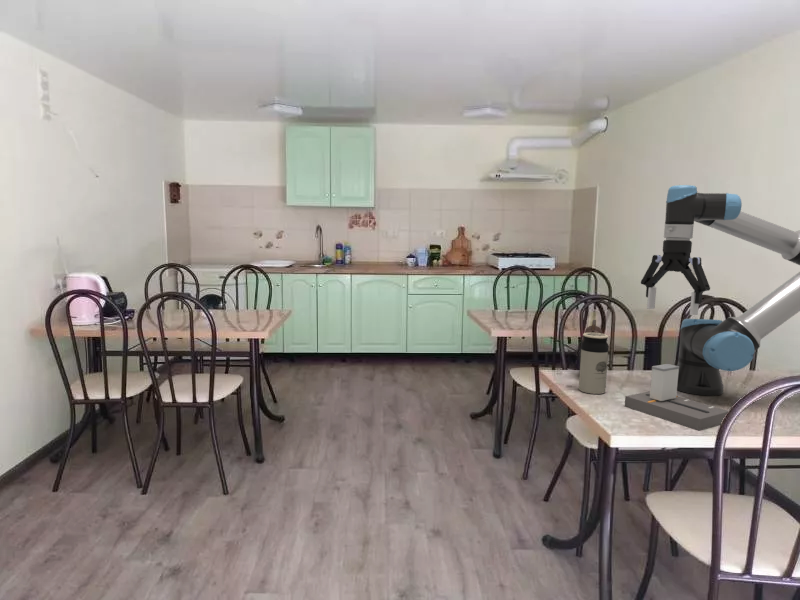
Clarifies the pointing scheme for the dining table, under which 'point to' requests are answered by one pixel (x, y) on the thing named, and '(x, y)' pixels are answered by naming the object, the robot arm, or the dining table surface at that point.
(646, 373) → the dining table surface
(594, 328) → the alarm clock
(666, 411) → the console
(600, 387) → the travel mug
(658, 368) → the fader
